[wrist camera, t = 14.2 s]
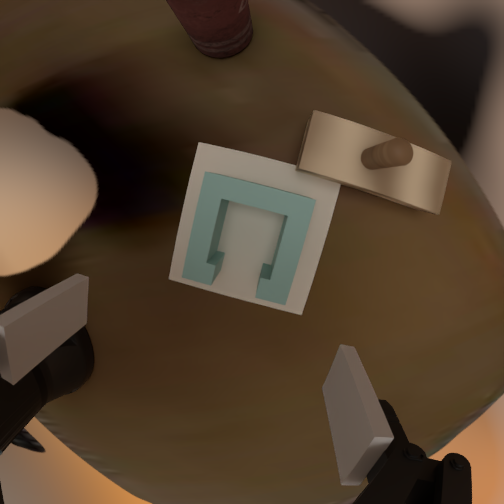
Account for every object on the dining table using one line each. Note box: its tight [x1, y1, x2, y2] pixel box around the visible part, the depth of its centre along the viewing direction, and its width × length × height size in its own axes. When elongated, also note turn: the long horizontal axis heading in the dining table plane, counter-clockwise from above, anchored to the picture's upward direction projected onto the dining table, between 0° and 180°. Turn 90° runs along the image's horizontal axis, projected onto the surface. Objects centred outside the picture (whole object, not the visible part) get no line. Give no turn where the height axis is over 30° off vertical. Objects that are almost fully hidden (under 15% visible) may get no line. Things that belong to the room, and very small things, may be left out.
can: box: [166, 0, 253, 58], centre depth 20 cm, size 6×6×14 cm
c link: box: [182, 172, 316, 305], centre depth 28 cm, size 9×9×5 cm
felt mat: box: [169, 142, 341, 315], centre depth 31 cm, size 14×14×1 cm
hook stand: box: [295, 110, 451, 215], centre depth 23 cm, size 13×5×12 cm, turn 76°
